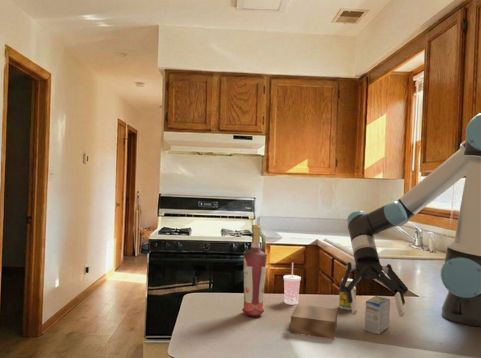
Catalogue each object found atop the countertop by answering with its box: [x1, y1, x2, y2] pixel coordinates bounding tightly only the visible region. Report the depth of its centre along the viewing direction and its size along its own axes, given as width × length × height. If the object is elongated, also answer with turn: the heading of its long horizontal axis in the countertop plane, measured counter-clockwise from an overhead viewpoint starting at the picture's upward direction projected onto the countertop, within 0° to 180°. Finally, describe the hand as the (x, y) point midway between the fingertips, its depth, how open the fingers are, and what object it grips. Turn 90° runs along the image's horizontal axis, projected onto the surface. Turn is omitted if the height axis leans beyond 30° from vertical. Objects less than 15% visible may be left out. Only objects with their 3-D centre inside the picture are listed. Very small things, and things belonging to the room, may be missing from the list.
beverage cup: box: [283, 262, 302, 306], centre depth 142 cm, size 6×6×14 cm
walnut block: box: [290, 303, 338, 340], centre depth 117 cm, size 12×12×5 cm
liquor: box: [241, 224, 268, 318], centre depth 127 cm, size 7×7×28 cm
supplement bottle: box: [338, 278, 357, 311], centre depth 139 cm, size 5×5×10 cm
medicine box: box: [364, 295, 391, 335], centre depth 119 cm, size 8×4×9 cm, turn 141°
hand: (378, 313), depth 117 cm, fingers open, 13 cm apart
